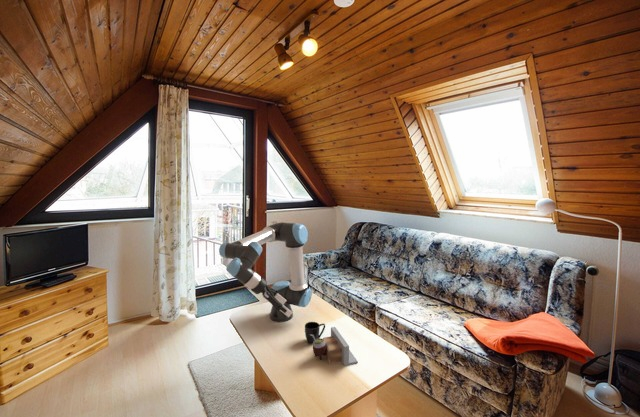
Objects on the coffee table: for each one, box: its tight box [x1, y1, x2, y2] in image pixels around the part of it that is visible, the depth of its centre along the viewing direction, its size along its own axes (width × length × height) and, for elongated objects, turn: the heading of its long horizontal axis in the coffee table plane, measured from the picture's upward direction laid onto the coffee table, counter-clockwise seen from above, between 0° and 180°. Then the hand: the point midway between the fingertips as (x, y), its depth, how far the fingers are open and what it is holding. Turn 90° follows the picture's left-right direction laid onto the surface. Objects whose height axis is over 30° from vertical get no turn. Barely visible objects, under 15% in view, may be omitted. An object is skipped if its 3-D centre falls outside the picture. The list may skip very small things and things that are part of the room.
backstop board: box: [330, 326, 358, 367], centre depth 151 cm, size 19×7×10 cm, turn 18°
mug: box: [304, 321, 326, 345], centre depth 162 cm, size 8×12×10 cm
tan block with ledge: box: [322, 335, 342, 365], centre depth 149 cm, size 12×6×7 cm, turn 18°
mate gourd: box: [311, 335, 327, 361], centre depth 145 cm, size 8×8×15 cm
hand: (287, 308), depth 142 cm, fingers open, 13 cm apart
